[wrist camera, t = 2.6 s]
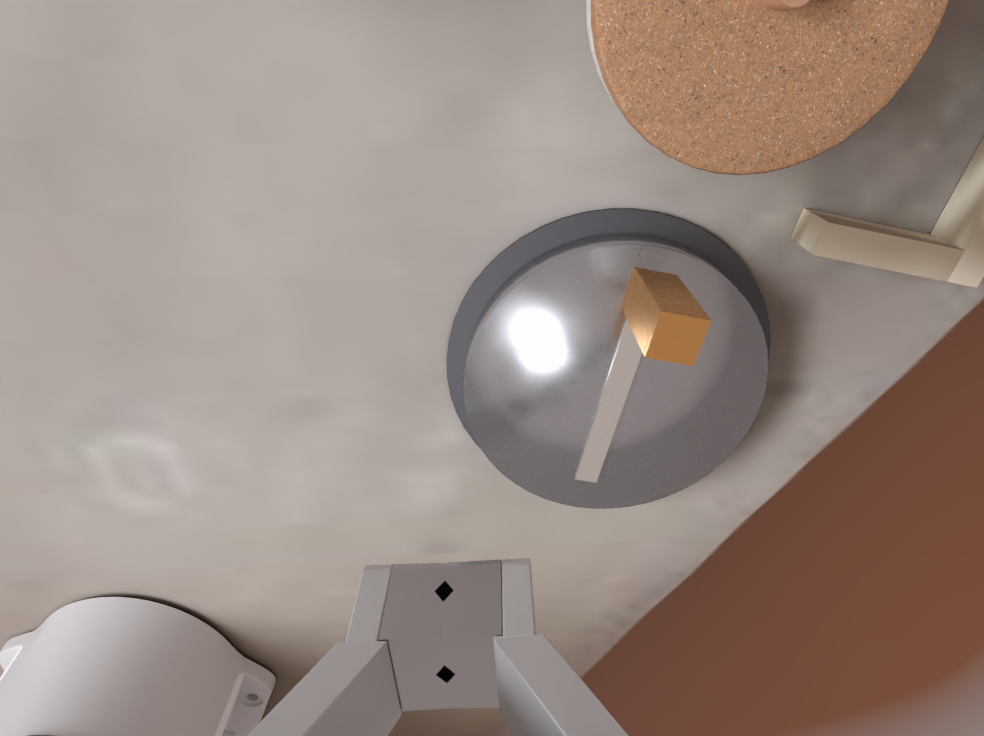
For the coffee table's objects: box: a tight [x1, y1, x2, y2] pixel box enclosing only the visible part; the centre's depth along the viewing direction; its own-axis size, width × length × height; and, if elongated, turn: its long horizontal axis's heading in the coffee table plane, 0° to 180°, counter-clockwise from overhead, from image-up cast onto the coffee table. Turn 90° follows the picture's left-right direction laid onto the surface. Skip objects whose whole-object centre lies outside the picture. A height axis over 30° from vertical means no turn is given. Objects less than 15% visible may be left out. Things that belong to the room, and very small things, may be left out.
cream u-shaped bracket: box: [790, 137, 984, 288], centre depth 25 cm, size 17×8×2 cm, turn 169°
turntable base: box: [447, 209, 770, 447], centre depth 33 cm, size 17×17×1 cm
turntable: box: [464, 234, 768, 508], centre depth 29 cm, size 15×15×7 cm
